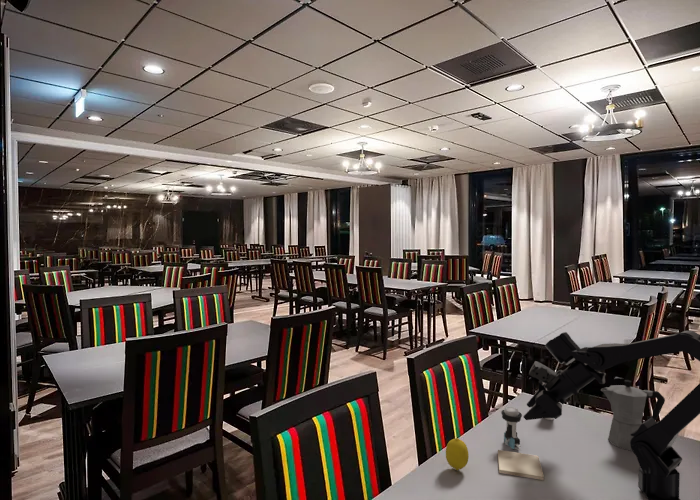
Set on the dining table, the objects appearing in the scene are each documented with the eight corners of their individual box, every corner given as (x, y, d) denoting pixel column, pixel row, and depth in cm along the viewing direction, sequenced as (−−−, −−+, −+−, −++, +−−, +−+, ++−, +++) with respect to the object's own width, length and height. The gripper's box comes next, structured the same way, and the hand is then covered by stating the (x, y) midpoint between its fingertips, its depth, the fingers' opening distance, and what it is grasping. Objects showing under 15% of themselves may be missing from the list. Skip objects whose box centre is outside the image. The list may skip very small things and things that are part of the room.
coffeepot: (605, 447, 113) (606, 383, 112) (595, 432, 122) (596, 372, 121) (671, 456, 108) (672, 389, 108) (656, 440, 117) (657, 378, 117)
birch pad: (538, 458, 107) (538, 455, 107) (543, 480, 97) (543, 476, 97) (497, 452, 110) (497, 449, 110) (499, 472, 100) (499, 469, 100)
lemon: (452, 477, 98) (452, 445, 98) (441, 465, 103) (441, 434, 103) (472, 474, 100) (473, 442, 99) (460, 462, 105) (461, 431, 105)
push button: (528, 451, 110) (528, 415, 110) (510, 453, 110) (510, 416, 109) (514, 439, 117) (515, 405, 117) (497, 441, 116) (497, 406, 116)
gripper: (550, 346, 117) (508, 377, 122) (547, 363, 100) (499, 399, 106) (581, 377, 113) (537, 409, 119) (583, 401, 97) (532, 436, 102)
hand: (526, 411), depth 112 cm, fingers open, 9 cm apart
